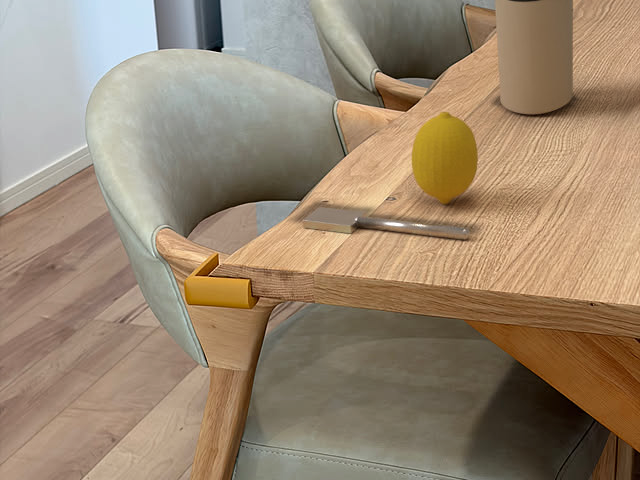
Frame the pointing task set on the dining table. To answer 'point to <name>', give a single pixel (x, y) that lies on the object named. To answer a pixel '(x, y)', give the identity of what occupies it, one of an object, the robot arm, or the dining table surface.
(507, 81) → the travel mug
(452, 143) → the lemon
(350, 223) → the silver knife
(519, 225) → the dining table surface
